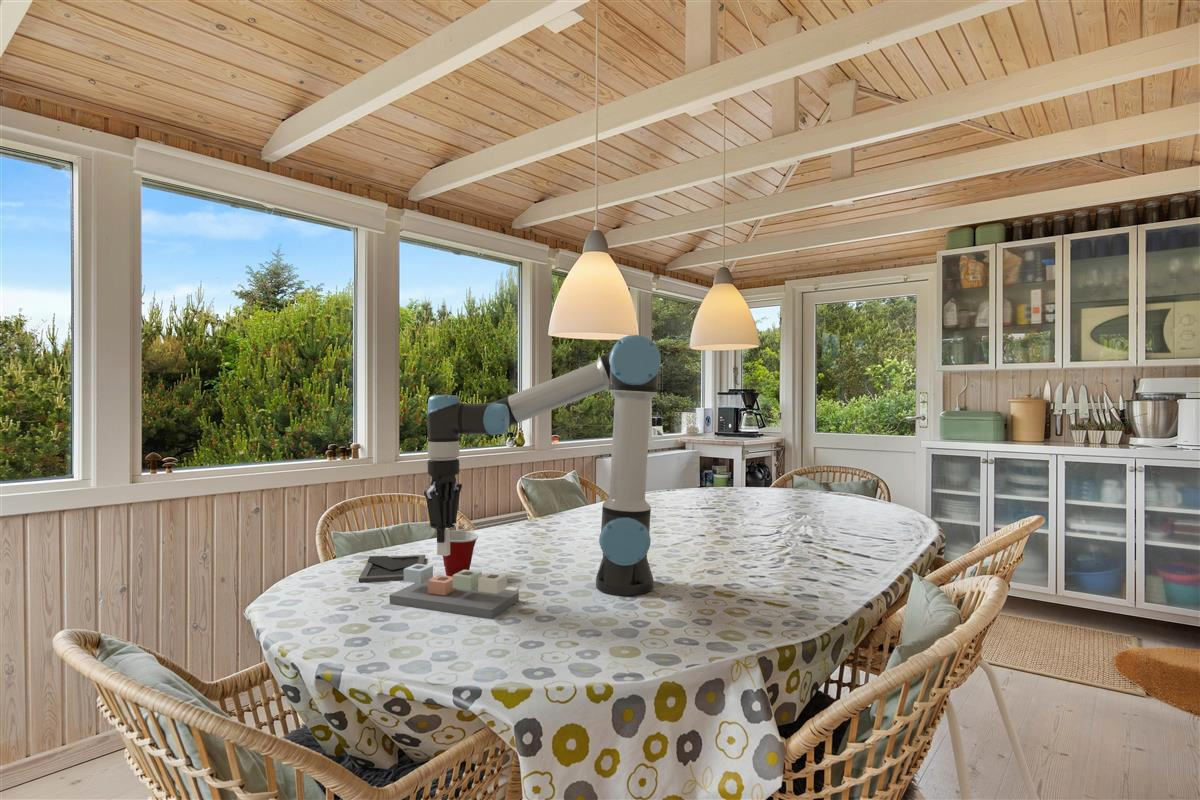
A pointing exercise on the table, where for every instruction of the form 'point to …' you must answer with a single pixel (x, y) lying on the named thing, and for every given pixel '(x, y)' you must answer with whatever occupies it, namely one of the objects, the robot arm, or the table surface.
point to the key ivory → (492, 583)
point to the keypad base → (457, 600)
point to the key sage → (466, 579)
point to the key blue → (418, 573)
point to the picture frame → (388, 567)
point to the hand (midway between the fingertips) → (443, 554)
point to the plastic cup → (459, 552)
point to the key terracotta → (441, 585)
